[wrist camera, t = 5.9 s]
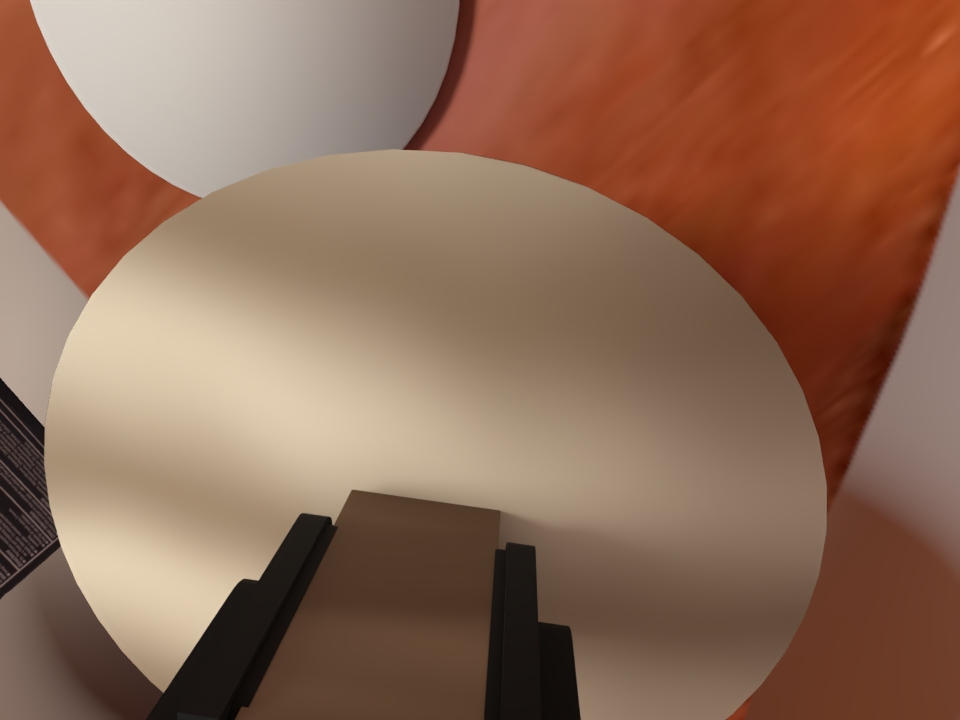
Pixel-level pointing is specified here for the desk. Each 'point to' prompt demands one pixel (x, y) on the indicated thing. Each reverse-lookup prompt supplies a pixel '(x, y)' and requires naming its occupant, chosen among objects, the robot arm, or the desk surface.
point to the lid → (437, 440)
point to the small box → (22, 493)
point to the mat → (250, 78)
